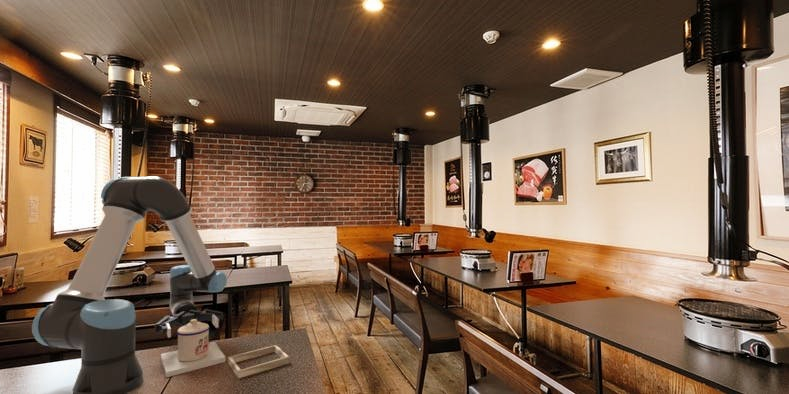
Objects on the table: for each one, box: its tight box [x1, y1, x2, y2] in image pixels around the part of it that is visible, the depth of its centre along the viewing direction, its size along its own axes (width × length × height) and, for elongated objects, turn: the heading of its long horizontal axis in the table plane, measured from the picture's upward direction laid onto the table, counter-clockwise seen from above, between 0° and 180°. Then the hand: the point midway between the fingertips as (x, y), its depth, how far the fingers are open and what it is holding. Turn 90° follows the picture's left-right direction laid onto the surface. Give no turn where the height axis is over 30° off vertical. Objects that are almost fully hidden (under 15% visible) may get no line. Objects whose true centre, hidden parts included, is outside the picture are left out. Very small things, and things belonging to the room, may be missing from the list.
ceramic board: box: [160, 341, 226, 378], centre depth 115 cm, size 16×16×2 cm
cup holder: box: [227, 344, 290, 379], centre depth 113 cm, size 12×15×2 cm
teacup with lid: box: [176, 319, 210, 362], centre depth 116 cm, size 12×9×12 cm
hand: (194, 328), depth 116 cm, fingers open, 13 cm apart
